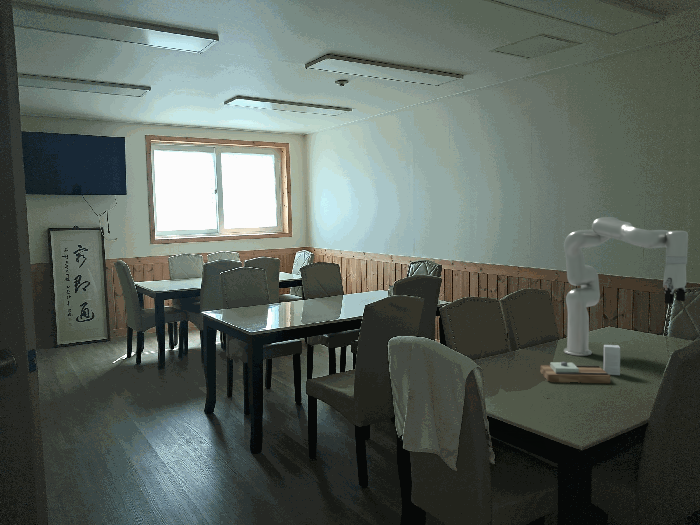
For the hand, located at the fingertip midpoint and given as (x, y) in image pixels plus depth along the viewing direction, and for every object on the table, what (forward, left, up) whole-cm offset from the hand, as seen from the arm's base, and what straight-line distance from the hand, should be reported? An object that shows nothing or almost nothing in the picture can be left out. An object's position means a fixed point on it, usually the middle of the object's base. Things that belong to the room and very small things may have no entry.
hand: (674, 302), depth 220 cm
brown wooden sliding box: (+6, -41, -31) cm, 52 cm away
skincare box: (-1, -24, -31) cm, 39 cm away
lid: (+6, -45, -28) cm, 53 cm away
